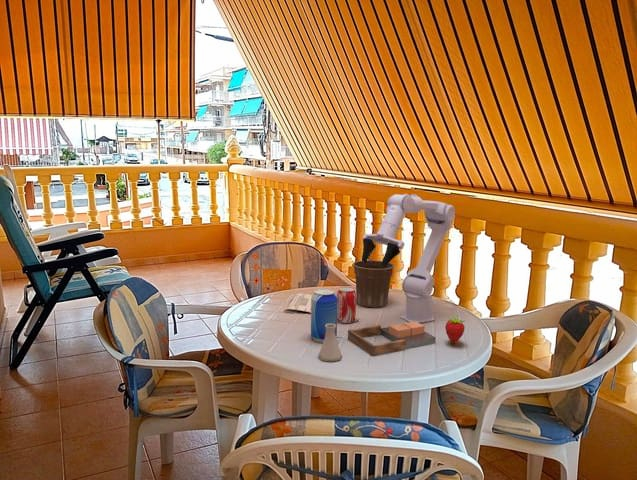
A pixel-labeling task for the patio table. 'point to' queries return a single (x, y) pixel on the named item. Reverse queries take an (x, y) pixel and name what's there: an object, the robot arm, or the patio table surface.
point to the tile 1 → (399, 330)
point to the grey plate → (410, 338)
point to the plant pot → (372, 283)
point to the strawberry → (454, 329)
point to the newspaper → (298, 303)
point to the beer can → (323, 313)
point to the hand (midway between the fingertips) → (373, 263)
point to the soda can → (346, 305)
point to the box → (358, 339)
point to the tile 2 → (415, 327)
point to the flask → (330, 345)
